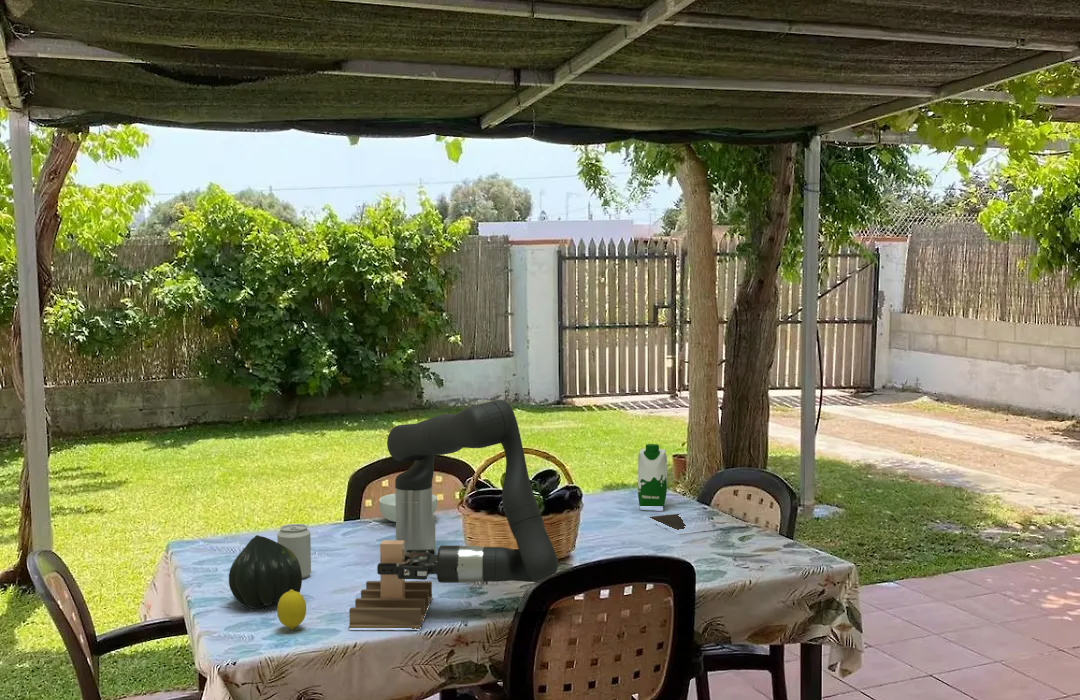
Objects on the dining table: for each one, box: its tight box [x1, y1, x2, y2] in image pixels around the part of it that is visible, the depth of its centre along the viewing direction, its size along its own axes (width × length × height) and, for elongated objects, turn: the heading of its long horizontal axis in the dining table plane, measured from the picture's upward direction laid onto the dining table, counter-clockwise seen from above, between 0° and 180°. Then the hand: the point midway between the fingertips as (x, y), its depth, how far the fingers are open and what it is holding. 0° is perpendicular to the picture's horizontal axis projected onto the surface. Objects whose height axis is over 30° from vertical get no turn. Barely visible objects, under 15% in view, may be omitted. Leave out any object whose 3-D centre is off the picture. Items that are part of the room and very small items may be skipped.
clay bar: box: [379, 539, 406, 598], centre depth 199 cm, size 3×4×14 cm, turn 88°
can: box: [276, 523, 312, 580], centre depth 224 cm, size 8×8×12 cm
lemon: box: [276, 590, 307, 630], centre depth 190 cm, size 6×6×8 cm
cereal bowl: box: [378, 493, 438, 523], centre depth 277 cm, size 17×17×7 cm
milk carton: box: [637, 443, 668, 507], centre depth 294 cm, size 9×9×20 cm
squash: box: [228, 534, 303, 609], centre depth 206 cm, size 14×15×15 cm
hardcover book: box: [649, 509, 749, 530], centre depth 275 cm, size 16×23×2 cm
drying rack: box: [348, 580, 433, 629], centre depth 199 cm, size 20×14×4 cm
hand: (381, 563), depth 198 cm, fingers open, 6 cm apart
